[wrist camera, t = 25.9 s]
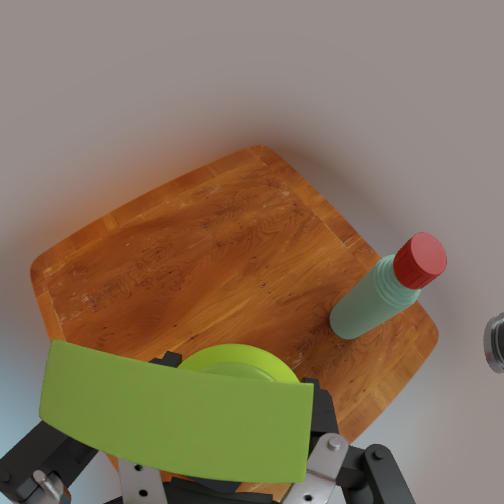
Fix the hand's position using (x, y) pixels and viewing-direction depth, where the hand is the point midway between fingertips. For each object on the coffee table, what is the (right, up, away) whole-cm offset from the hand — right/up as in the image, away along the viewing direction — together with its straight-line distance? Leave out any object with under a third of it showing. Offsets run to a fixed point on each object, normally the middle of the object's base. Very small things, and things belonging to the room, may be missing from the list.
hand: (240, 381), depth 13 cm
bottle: (+14, -3, +25) cm, 29 cm away
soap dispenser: (-1, -7, +8) cm, 11 cm away
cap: (+15, +5, +10) cm, 19 cm away
